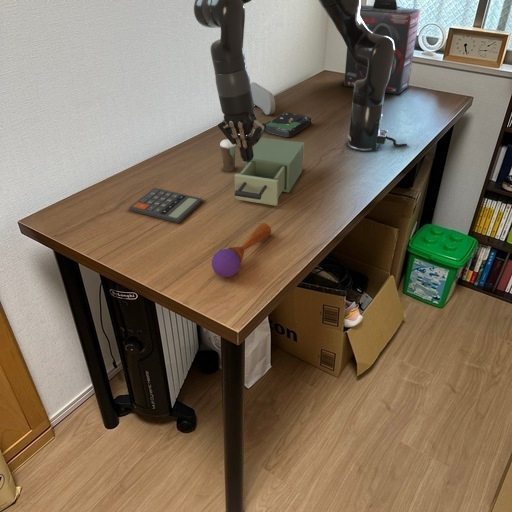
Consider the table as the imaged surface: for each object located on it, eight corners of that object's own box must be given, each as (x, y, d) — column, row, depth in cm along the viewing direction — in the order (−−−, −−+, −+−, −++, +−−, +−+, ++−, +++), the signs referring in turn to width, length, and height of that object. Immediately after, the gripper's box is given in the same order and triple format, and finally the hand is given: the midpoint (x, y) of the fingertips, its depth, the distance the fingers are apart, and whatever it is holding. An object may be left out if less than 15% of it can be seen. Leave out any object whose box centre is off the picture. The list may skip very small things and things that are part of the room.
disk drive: (286, 119, 177) (263, 131, 168) (286, 111, 176) (263, 123, 166) (311, 124, 173) (289, 138, 163) (311, 117, 171) (289, 130, 161)
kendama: (278, 224, 113) (232, 265, 98) (273, 244, 116) (227, 287, 101) (256, 213, 115) (208, 252, 100) (251, 234, 118) (204, 274, 103)
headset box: (342, 86, 207) (349, -2, 187) (353, 78, 215) (362, -7, 196) (398, 95, 196) (413, 3, 177) (408, 87, 204) (423, -2, 185)
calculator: (154, 187, 134) (202, 198, 129) (155, 190, 135) (202, 201, 129) (128, 207, 126) (178, 219, 120) (129, 210, 126) (178, 222, 121)
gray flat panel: (275, 116, 179) (276, 94, 174) (270, 117, 178) (270, 95, 173) (252, 101, 193) (252, 79, 188) (247, 102, 192) (247, 80, 187)
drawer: (269, 218, 121) (269, 193, 117) (226, 210, 124) (225, 186, 120) (290, 183, 136) (291, 160, 131) (252, 177, 139) (251, 154, 135)
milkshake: (237, 173, 142) (236, 141, 137) (219, 172, 143) (217, 139, 137) (241, 166, 146) (240, 135, 140) (223, 165, 147) (221, 133, 141)
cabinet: (288, 192, 133) (289, 163, 128) (245, 185, 136) (244, 157, 131) (302, 170, 144) (303, 142, 139) (261, 164, 147) (261, 137, 142)
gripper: (268, 84, 107) (279, 156, 118) (221, 82, 115) (235, 150, 125) (248, 97, 103) (262, 171, 113) (201, 94, 110) (217, 164, 120)
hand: (248, 160), depth 119 cm, fingers closed
